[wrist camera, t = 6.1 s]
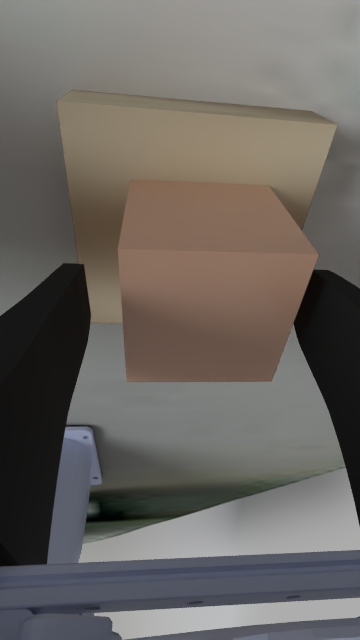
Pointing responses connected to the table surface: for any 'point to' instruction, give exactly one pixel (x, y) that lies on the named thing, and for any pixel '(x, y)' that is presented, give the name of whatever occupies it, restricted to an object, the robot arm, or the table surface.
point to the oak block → (174, 164)
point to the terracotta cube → (208, 281)
